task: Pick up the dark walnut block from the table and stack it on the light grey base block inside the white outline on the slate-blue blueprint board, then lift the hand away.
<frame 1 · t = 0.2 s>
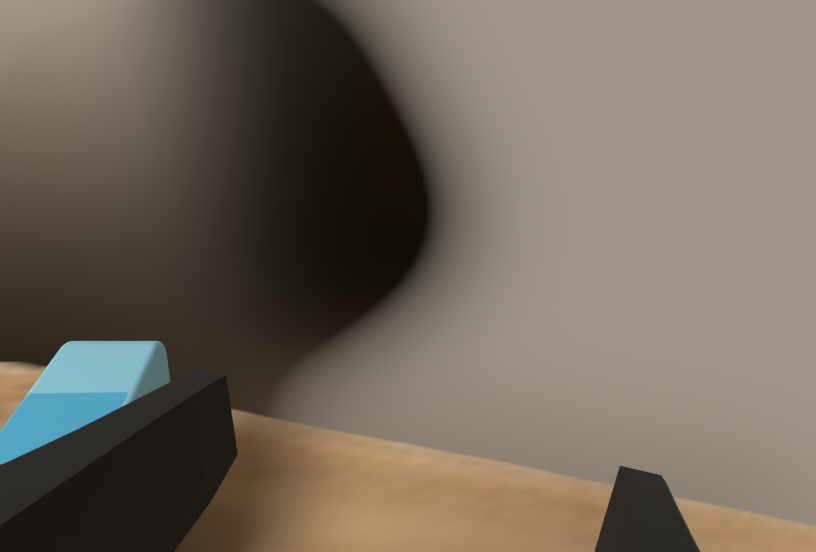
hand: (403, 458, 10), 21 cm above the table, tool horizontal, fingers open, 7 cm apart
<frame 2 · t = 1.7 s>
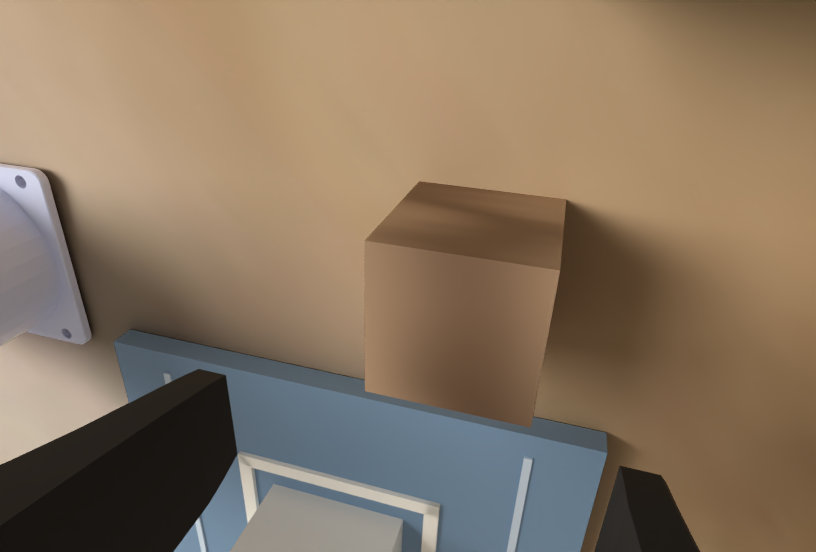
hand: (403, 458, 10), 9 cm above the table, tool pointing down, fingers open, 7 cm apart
blueprint board: (346, 528, 26), on the table
walnut block: (483, 256, 18), on the table
base block: (338, 546, 25), resting on blueprint board
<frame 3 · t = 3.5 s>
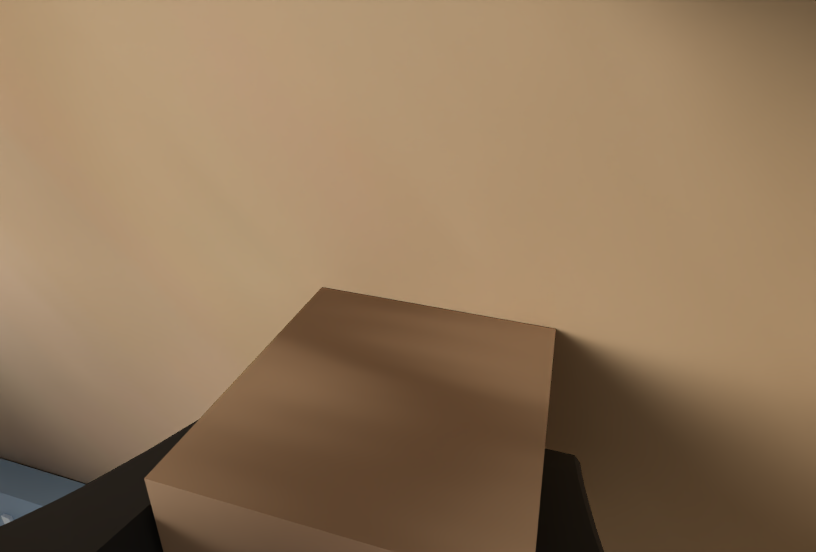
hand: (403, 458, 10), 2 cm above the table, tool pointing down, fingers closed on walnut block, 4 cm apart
walnut block: (426, 401, 11), on the table, touching gripper
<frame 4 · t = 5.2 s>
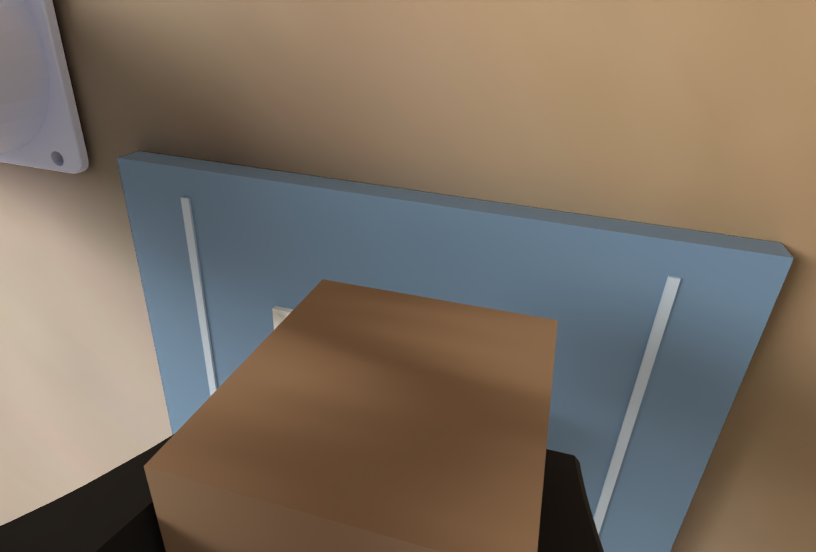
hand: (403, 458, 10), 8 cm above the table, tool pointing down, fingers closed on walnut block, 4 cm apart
blueprint board: (401, 416, 21), on the table
walnut block: (427, 393, 11), point 7 cm above the table, touching gripper
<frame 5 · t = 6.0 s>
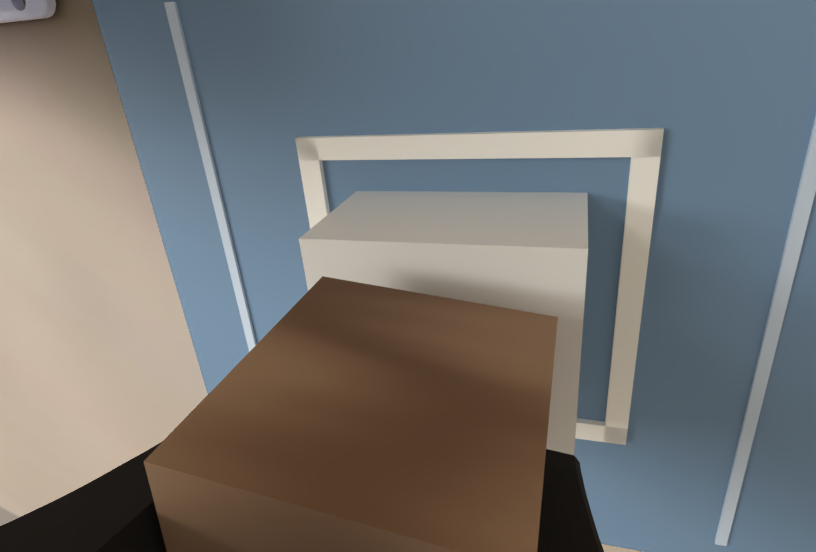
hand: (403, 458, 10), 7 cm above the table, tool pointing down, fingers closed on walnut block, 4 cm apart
blueprint board: (474, 279, 16), on the table
walnut block: (427, 391, 11), point 6 cm above the table, touching gripper
base block: (468, 294, 15), resting on blueprint board
when the fingers open (7 cm above the table, at t = 6.9 s): walnut block drops 1 cm, resting on base block.
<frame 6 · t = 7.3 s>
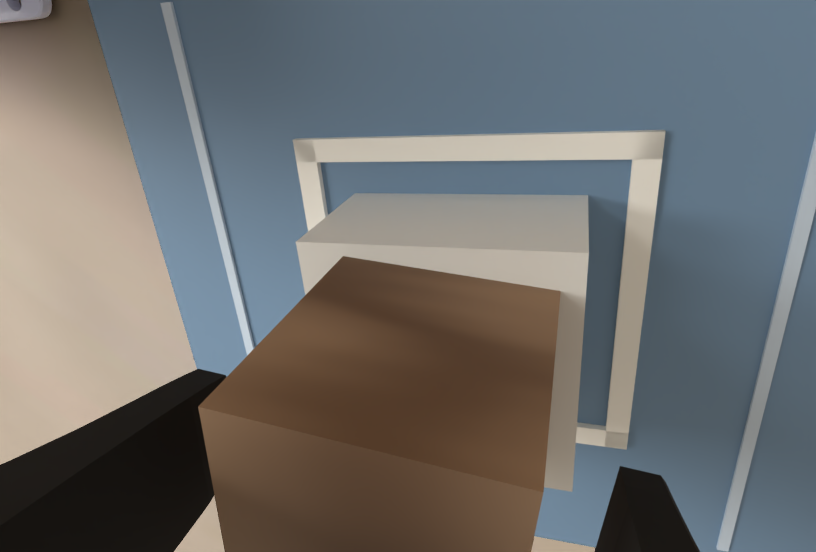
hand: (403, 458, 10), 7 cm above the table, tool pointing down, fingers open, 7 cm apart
blueprint board: (474, 282, 16), on the table
walnut block: (439, 363, 12), point 4 cm above the table, touching base block
base block: (468, 298, 15), resting on blueprint board
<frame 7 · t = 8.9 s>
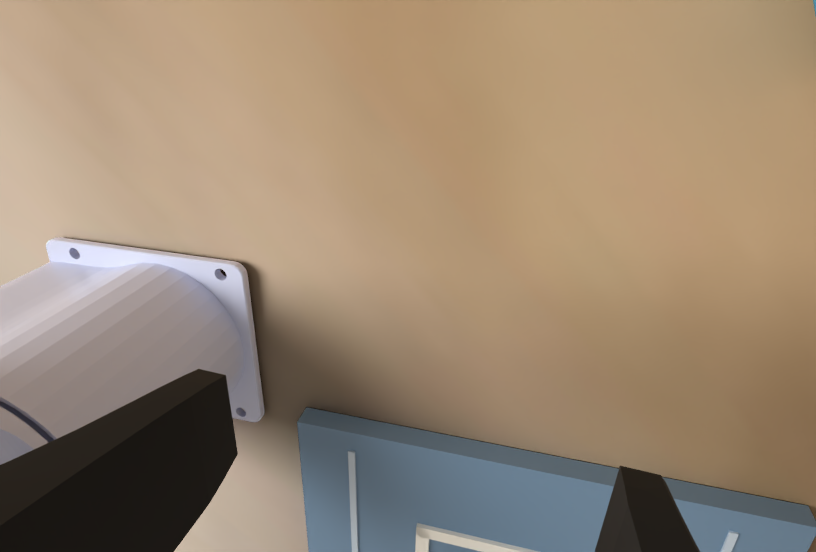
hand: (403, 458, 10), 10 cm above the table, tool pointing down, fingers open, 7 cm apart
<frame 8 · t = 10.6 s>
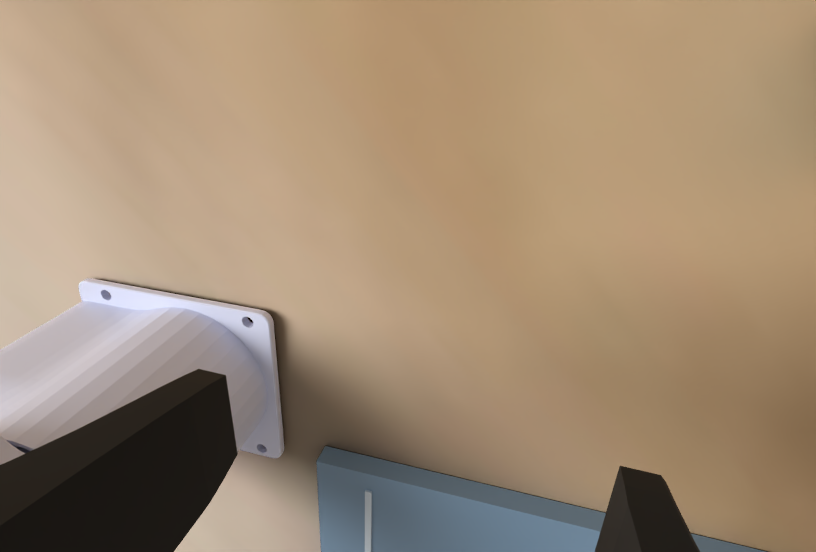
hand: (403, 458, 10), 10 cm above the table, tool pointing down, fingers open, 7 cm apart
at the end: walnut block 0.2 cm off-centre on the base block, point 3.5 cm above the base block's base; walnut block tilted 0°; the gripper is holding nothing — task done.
